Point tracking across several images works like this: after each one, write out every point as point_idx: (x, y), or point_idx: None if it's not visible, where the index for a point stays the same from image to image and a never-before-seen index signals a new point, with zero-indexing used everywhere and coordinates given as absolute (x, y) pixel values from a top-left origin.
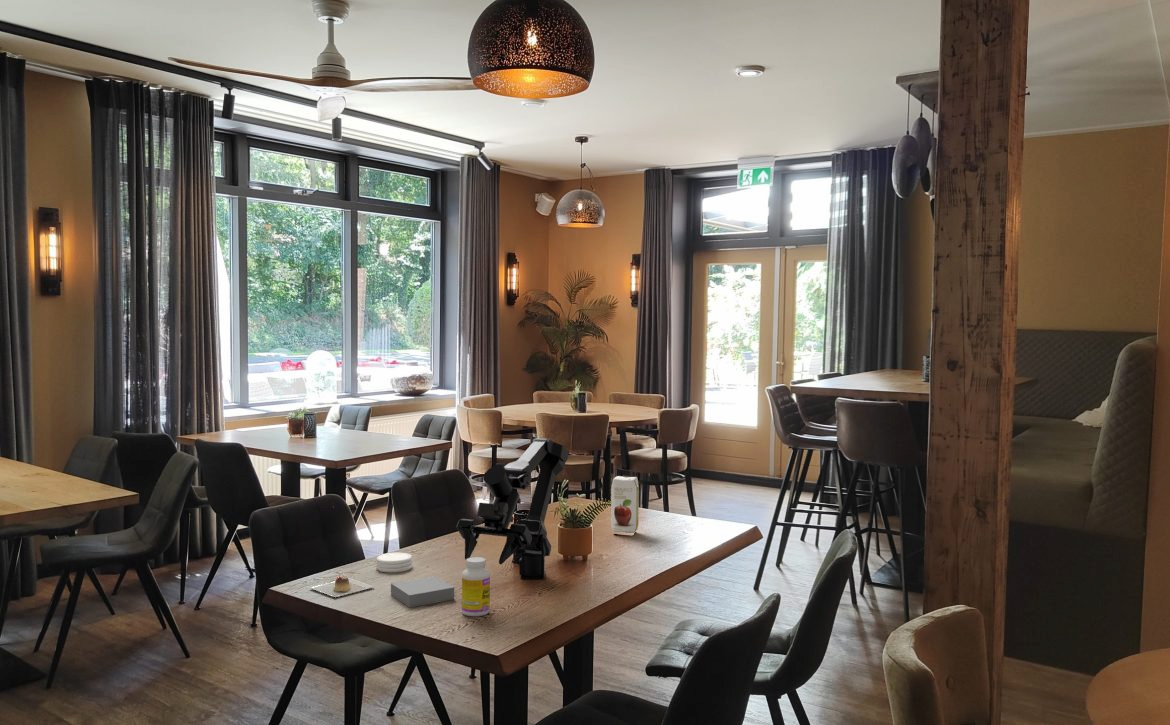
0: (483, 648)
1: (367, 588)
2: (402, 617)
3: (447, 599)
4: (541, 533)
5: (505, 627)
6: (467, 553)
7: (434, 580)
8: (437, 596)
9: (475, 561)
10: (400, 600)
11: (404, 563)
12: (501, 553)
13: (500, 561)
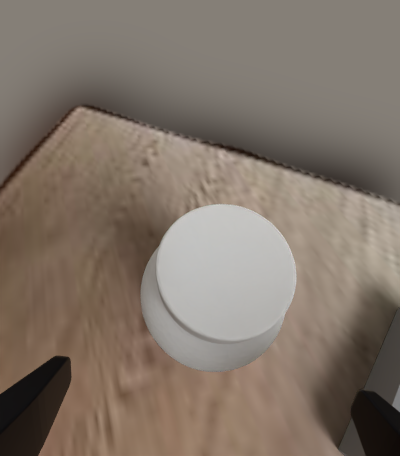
0: (110, 124)
1: None
2: (354, 233)
3: (352, 423)
4: None
5: (85, 226)
6: (395, 430)
7: None
8: (379, 388)
9: (209, 217)
10: None
11: None
12: (6, 420)
13: (50, 361)
